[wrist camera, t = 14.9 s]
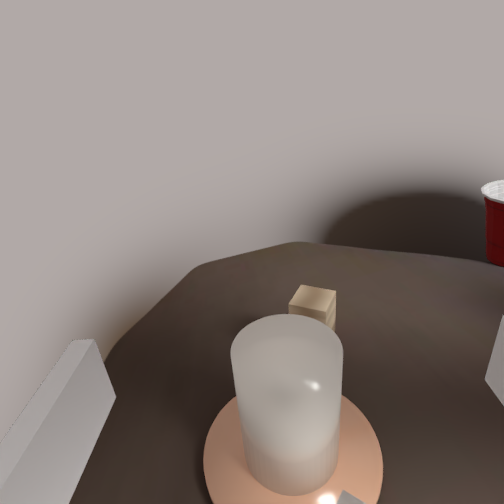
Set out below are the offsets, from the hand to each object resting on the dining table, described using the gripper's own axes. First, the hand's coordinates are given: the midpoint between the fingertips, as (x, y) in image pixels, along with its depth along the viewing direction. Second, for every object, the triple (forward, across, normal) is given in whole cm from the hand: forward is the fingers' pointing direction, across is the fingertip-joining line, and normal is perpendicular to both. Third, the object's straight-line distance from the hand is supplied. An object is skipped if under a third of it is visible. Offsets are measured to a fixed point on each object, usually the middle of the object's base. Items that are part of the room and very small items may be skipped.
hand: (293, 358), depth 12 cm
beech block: (+23, +3, -21) cm, 31 cm away
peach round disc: (+11, 0, -21) cm, 24 cm away
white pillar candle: (+11, 0, -20) cm, 23 cm away
